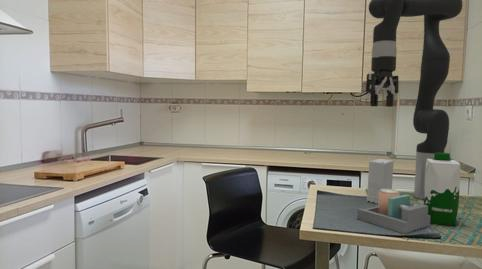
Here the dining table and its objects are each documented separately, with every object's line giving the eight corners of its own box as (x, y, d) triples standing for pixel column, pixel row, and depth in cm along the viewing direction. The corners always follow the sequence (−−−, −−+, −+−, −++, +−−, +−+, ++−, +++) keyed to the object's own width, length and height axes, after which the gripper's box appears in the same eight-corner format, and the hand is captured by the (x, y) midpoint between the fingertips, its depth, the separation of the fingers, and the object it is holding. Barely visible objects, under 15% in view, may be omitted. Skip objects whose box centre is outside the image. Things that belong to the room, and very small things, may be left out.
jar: (384, 215, 108) (386, 187, 108) (402, 220, 104) (403, 191, 103) (373, 218, 105) (374, 189, 105) (390, 223, 101) (392, 193, 100)
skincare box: (375, 197, 132) (377, 158, 131) (392, 201, 128) (394, 160, 127) (366, 201, 126) (368, 160, 125) (383, 205, 122) (385, 162, 121)
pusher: (405, 218, 104) (406, 194, 104) (415, 220, 102) (416, 196, 101) (387, 222, 100) (388, 198, 99) (397, 225, 97) (399, 200, 97)
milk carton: (453, 218, 108) (457, 153, 106) (459, 227, 99) (464, 156, 98) (421, 215, 111) (424, 151, 109) (424, 223, 102) (428, 154, 101)
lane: (382, 212, 113) (383, 194, 112) (430, 226, 100) (431, 205, 100) (357, 218, 106) (358, 199, 105) (404, 233, 93) (405, 211, 93)
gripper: (386, 59, 123) (384, 106, 124) (360, 56, 115) (358, 106, 116) (406, 57, 117) (404, 106, 118) (380, 53, 109) (378, 106, 110)
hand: (381, 106), depth 117 cm, fingers open, 8 cm apart
